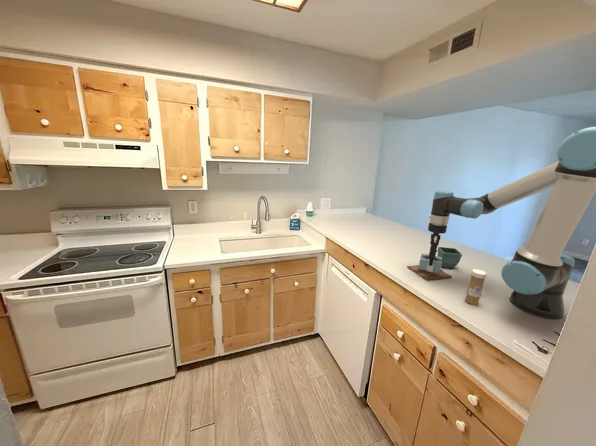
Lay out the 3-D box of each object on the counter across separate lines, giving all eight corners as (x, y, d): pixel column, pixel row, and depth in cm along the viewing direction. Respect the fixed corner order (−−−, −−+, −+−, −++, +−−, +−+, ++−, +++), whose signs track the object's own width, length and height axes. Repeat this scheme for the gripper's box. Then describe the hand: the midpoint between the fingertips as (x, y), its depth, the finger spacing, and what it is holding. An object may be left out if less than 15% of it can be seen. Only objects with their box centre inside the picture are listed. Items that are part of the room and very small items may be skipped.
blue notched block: (440, 266, 121) (442, 257, 120) (439, 273, 113) (441, 263, 112) (420, 262, 125) (421, 253, 124) (418, 268, 118) (420, 259, 117)
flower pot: (459, 270, 124) (462, 254, 121) (440, 268, 125) (443, 252, 123) (452, 263, 132) (455, 248, 130) (434, 261, 134) (437, 246, 131)
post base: (451, 278, 115) (456, 258, 113) (427, 281, 112) (431, 261, 109) (429, 265, 128) (433, 248, 126) (407, 267, 125) (410, 249, 122)
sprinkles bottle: (469, 305, 94) (477, 274, 91) (462, 298, 99) (469, 268, 95) (481, 305, 94) (489, 274, 91) (473, 298, 99) (480, 268, 95)
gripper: (430, 217, 124) (423, 258, 130) (427, 227, 106) (419, 273, 112) (447, 220, 121) (438, 261, 127) (447, 230, 102) (437, 278, 108)
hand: (429, 267), depth 119 cm, fingers open, 9 cm apart
